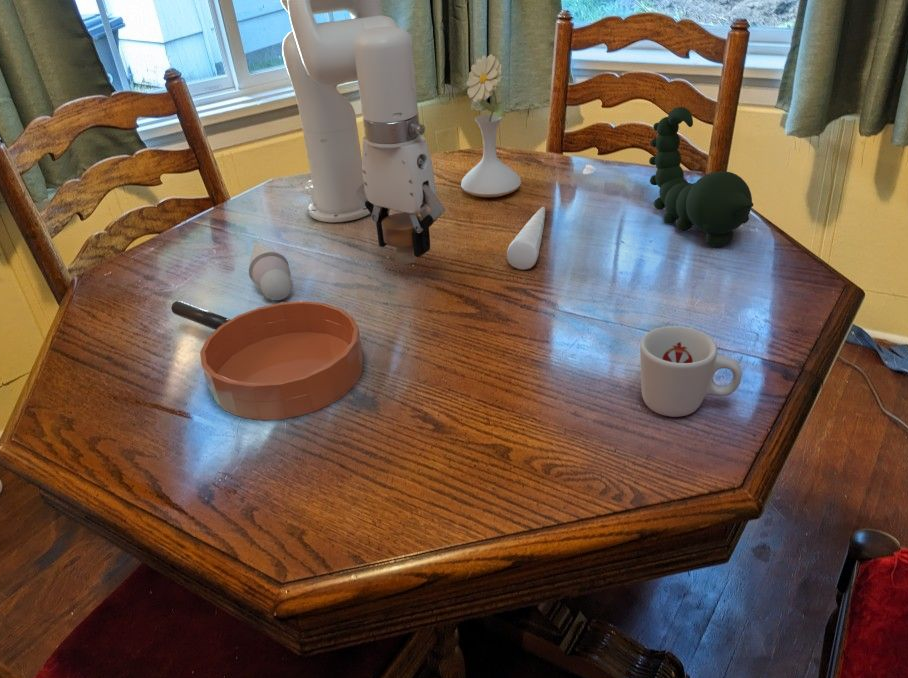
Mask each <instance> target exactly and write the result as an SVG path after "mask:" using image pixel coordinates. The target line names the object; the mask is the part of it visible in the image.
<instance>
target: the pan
mask: <svg viewBox="0 0 908 678" xmlns="http://www.w3.org/2000/svg"><path fill="white" fill-rule="evenodd" d="M230 319H231V320H230V321H228V322H226V323H224V324H223V325H221V326H220V327H218V328H217V329H216V330H214V331H213V332H212V333H211V334H210V335H209V336H208V337H207V338H206V339H205V341H204V343H203V345H202V347H201V349H200V353H199V354H200V355H199V356H200V363H201V368H202V371H203V374H204V377H205V379H206V383H207V386H208V389H209V391H210V395H211V396H212V398H213V400H214V402H215V403H216V404H217V406H218V407H220V408H221V409H222V410H224V411H225V412H228V413H229V414H231V415H234V416H236V417H239V418H244V419H249V420H256V421H276V420H284V419H286V420H287V419H292V418H297V417H300V416H304V415H307V414H311V413H313V412H316V411H319V410H321V409H323V408H325V407H327V406H330V405H331V404H333V403H335V402H337V401H338V400H340V399H341V398H342V397H344V396H345V395H346V394H348V392H350V391H351V390H352V389H353V388H354V386H355V385H356V384H357V383H358V381H359V380H360V378H361V375H362V373H363V371H364V370H363V369H364V354H363V353H364V352H363V347H362V341H361V334H360V328H359V326H358V324H357V322H356V320H355V317H354V316H352V315H351V314H349V313H348V312H347V311H346V310H344V309H343V308H341V307H339V306H336V305H335V306H334V305H331V304H329V303H325V302H317V301H305V300H301V301H287V302H286V301H284V302H278V303H274V304H269V305H265V306H260V307H257V308H254V309H252V310H249V311H246V312H243V313H241V314H238V315H236V316H235V317H233V318H230Z"/></svg>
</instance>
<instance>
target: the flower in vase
mask: <svg viewBox="0 0 908 678" xmlns="http://www.w3.org/2000/svg"><path fill="white" fill-rule="evenodd" d="M502 67H503V66H502V64H500V61H499V59H498V58H496V56H495V55H493V54H492V53H490V54H489V55H487V56H486V55H485V54H484V55H482V56H481V58H478V59H477V60H476V64H472V65H471V67H470V69H471V70H470V72H469V73H468V79H467V82H466V86H467V87H468V88H467V96H468V97H469V99H473V102H474V103H477V102H478V103H479V105H480V106H481V107H483V108H484V109H485V110H487V111H489V112H490V113H484V114H480V115H477V116H475V117H474V121H475V122H476V124H477V125H478V127H479V129H480V132H481V136H482V143H483V152H482V153H483V154H482V158H481V160H480V161H479V162H478V163H477V164H476V165H474V167H472V168H471V169H470V170H469V171H468V172H467V173H466V174H465V175H464V176H463V177H462V180H461V183H460V186H461V189H462V190H463V191H464V192H465V193H467V194H468V195H471V196H475V197H480V198H498V197H502V196H503V197H504V196H505V195H509V194H511V193H513V192H515V191H517V190H518V189H519V187H520V186H521V184H522V179H521V177H520V175H519V174H518V173H517V172H516V170H514V169H513V168H511V167H510V166H508V165H507V164H505V163H504V162H503V161H502V160H500V159H499V156H498V155H497V154H498V153H497V146H496V145H497V144H496V141H497V131H498V129H499V125H500V123H501V121H502V119H503V117H506V113H505V110H504V109H505V108H504V104H503V102H502V101H498V102H497V100H498V99H497V95H496V92H495V91H496V90H497V86H498V84H500V82H501V80H502V79H501V75H502ZM491 96H493V99H494V102H493V106H492V104H491V103H490V102H488V101H486V100H488V99H489V97H491Z"/></svg>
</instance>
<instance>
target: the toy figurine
mask: <svg viewBox="0 0 908 678" xmlns="http://www.w3.org/2000/svg"><path fill="white" fill-rule="evenodd" d="M683 122H684V123H685V124H686V125H687V126H688V127H689V128H692V127H693V126H694V118H693V115H692V112H691V110H689V109H688V108H687V107H684V106H676V107H674V108H672V109H671V110H670V111H669V113H668V116H665V117H662V118H661V119H660V120H659V121H658V122H654V124H653V126H652V129H653V130H654V131H655V132H656V133H657V136H656V137H654V138H652V139H651V141H650V145H651V147H652V148H655V149H656V150H657V153H656V155H655V156H651V157H650V158H649V160H648V163H649V165H651V166H655V167H656V169H657V170H656V171H655V174H653V175H652V176H650V179H649V183H650V185H653V186H657V187H659V197H656V199H654V201H653V207H654V208H655V209H656V210H659V211H660V210H663V209H665V211H666V212H665V213H664V215H663V221H664V223H665V224H668V225H671V224H674V223H675V226H676V228H677V230H678V231H679V232H682V233H685V232H688V231H690V230H691V229H692V228H693V227H695V228H697V230H699V231H701V232H703V233H706V237H705V239H706V242H707V244H708V245H709V246H711V247H723V246H726V245H728V244H730V243H732V241H733V239H734V237H735V232H734V231H735V230H736V229H738V228H739V227H741V226H742V225H744V224H746V223H748V222H749V220H750V212H751V210H752V208H753V207H754V203H753V196H752V192H751V189H750V187H749V185H748V183H746V181H745V180H744V179H743V178H742V176H740V175H738V174H737V173H734V172H731V171H726V170H719V171H718V170H717V171H712V172H709V173H707V174H705V175H703V176H701V177H700V178H698V180H697V181H695V182H693V183H691V182H689V181H687V179H685V173H684V169H683V167H682V166H681V162H682V154H681V152H680V151H679V148H680V145H681V138H680V136H679V134H678V132H679V129H680V124H681V123H683Z"/></svg>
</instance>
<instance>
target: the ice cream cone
mask: <svg viewBox="0 0 908 678" xmlns="http://www.w3.org/2000/svg"><path fill="white" fill-rule="evenodd" d="M249 263H250V264H249V267H248V275H249V278H250V280H251V281H252V282H253V283H254V284H255V286H256V287H257V289H259V290H260V291H261V292H262V294H263V295H264V296H265V297H266V298H268V299H269V300H272V301H281V300H284V299H286V298H287V297H288V296H289V295H290V294H291V292H292V289H293V281H292V278H291V270H290V264H289V261H288V259H287V258H286V256H284V255H283V254H280V253H278V252H277V251H275V250H273V249H271V248H269V247H268V246H265V245H264V244H262V243H260V242H258V241H256V240H255V241H254V245H253V250H252V254H251V258H250V262H249Z"/></svg>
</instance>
